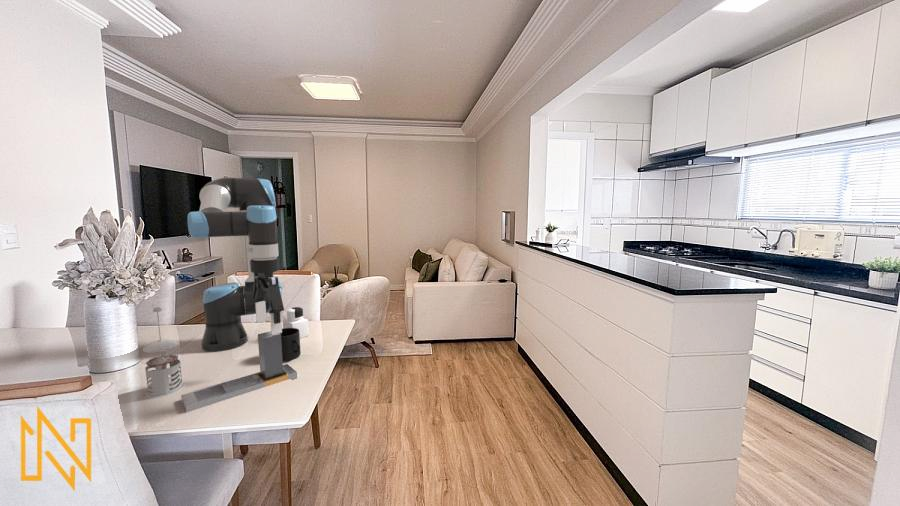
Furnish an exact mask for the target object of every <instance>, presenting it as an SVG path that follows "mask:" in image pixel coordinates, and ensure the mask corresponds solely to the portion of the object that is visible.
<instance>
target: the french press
mask: <svg viewBox="0 0 900 506" xmlns="http://www.w3.org/2000/svg"><path fill="white" fill-rule="evenodd" d="M152 312H153V313H156V315H157V316H156V317H157V326H158V332H159V333H158V335H159V339H158V340H155V341H152V342H150V343H149V344H147V345H145V346H144V347H143V348H142V351H143V352H144V353H145V354H146V353H148V354H154V353H155V354H157V353H160V354H161V355H160V356H155V357H152V358H150V359H149V360H147V361H146V363H145V364H146V365H147V366H145V368H144V369H145V377H146V387H147V392H146V393H145V397H146V398H148V399H158V398H160V399H161V398H164V397H168V396H172V395H174V394H177V393H179V392H180V391H182V390H183V389H184V388H185V386H186V384H185V383H183V378H182V375H183V374H182V367H181V360H180V359H179V355H177V354H175V351H174V349H175V348H177V347H178V346H179V345H180V342H179V341H177V340H175V339H170V338H168V339H167V338H165V339H162V338H161V337H162V336H161V329H160V328H161V327H160V319H159V318H160V317H159V312H162V307H160V306H158V307H157V306H156V307H154V308H153V309H152ZM171 350H172V354H168V351H171ZM163 352H165V355H163ZM168 365H169V367H168ZM150 369H151V370H150Z"/></svg>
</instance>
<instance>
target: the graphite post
mask: <svg viewBox="0 0 900 506" xmlns="http://www.w3.org/2000/svg"><path fill="white" fill-rule="evenodd" d="M257 342H258V358H259V359H258V360H259V370H260V371H259V372H260V374H261V379H262V380H263V381H266V380H269V379H273V378H276V377H279V376H282V375H283V365H284V364H283V363H284V362H283V360H282V344H281V334H280V333H279V334H274V335H272V334H271V331H266V332H263V333H262V332H261V333H258V334H257Z"/></svg>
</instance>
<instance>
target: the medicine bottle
mask: <svg viewBox="0 0 900 506" xmlns="http://www.w3.org/2000/svg"><path fill="white" fill-rule="evenodd" d="M283 328H296V329H299V334H300V339H303V338H306V337H309V336H310V332H309V331H310V330H309V319H307V318H304V309H303V308H302V307H299V306H295V307H290V308H288V309H287V310H286V319H284V320H282V329H283Z"/></svg>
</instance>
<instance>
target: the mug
mask: <svg viewBox="0 0 900 506" xmlns="http://www.w3.org/2000/svg"><path fill="white" fill-rule="evenodd" d="M280 334H281V344H282V360H283V363H284V362H288V361H289V362H290V361H292V360H296V359H297V358H299V357H300V355H301V340H300V339H301V338H300V334H299V329H296V328H283V327H282V333H280Z"/></svg>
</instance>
